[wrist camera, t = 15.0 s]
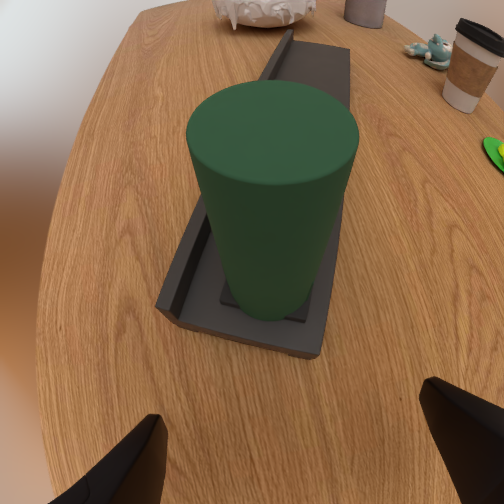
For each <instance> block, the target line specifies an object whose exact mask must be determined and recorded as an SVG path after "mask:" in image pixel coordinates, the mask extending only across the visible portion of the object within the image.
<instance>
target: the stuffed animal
mask: <svg viewBox="0 0 504 504" xmlns="http://www.w3.org/2000/svg"><path fill="white" fill-rule="evenodd" d="M452 48H453V46H452V45H451V44H449V43H448V42H447V41H446V40H442V39H441V37H440V36H439V35H437V34H434V37H433V38H432V39H430V40H429V42H428V45H426V44H422V43H412V44H411V45H410V46H409V45H405V46H404V50H405V52H408V54H409V55H411V56H414V55H418V56H420V57H425V58H426V59H425V60H424V63H425V64H427V65H429V66H430V67H432V68H434V69H437V70H444V69H446V68H448V67H449V63H450V58H451V53H452ZM430 59H432V60H433V61H429V60H430Z"/></svg>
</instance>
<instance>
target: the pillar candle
mask: <svg viewBox="0 0 504 504" xmlns="http://www.w3.org/2000/svg"><path fill="white" fill-rule="evenodd" d="M386 1H387V0H346V2H345V11H344V19H345V20H347V21H349V22H351V23H353V24H356V25H360V26H364V27H369V28H382V25H383V19H384V13H385V7H386Z"/></svg>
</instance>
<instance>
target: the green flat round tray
mask: <svg viewBox="0 0 504 504" xmlns="http://www.w3.org/2000/svg"><path fill="white" fill-rule="evenodd" d="M484 147H485V149H486V151H487V153H488V155H489V156H490V157H491V159H492V160H493V162H494V163H495V164H496V165H497V166H498V167H499V168H500V169H501V170H502V171H503V172H504V143H502V142H501V141H499V140H497V139H495V138H492V137H487V138H485V139H484Z"/></svg>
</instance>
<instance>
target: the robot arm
mask: <svg viewBox="0 0 504 504" xmlns="http://www.w3.org/2000/svg"><path fill="white" fill-rule="evenodd" d="M419 401H420V404H421V407H422V410H423V412H424V415H425V418H426V421H427V424H428V427H429V430H430V432H431V435H432V437H433V439H434V441H435V443H436V445H437V448H438V450H439V452H440V454H441V456H442V459H443V461H444V463H445V465H446V467H447V470H448V472H449V474H450V477H451V479H452V481H453V484H454V486H455V489H456V491H457V493H458V496H459V498H460V501H461V503H462V504H504V409H503V408H501V407H499V406H497V405H494V404H492V403H490V402H488V401H486V400H484V399H482V398H479V397H477V396H475V395H473V394H471V393H469V392H467V391H465V390H463V389H460V388H458V387H456V386H454V385H452V384H450V383H448V382H446V381H444V380H442V379H440V378H438V377H435V376H433V377H430V378H427V379H425V380H424V382H423V385H422V388H421V391H420V394H419ZM167 443H168V431H167V428H166V425H165V423H164V421H163V418H162V416H161V415H159V414H148V415H147V416H146V417H145V418H144V419H143V420H142V421H141V422H140V423H139V424H138V425H137V426H136V427H135V428H134V429H133V430H132V431H131V432H130V433H128V434H127V435H126V436H125V437H124V438H123V439H122V440H121V441H120V442H119V443H118V444H117V445H116V446H115V447H114V448H113V449H112V450H111V451H110V452H109V453H108V454H107V455H106V456H105V457H103V458H102V459H101V460H100V461H99V462H98V463H97V464H96V465H95V466H94V467H93V468H92V469H91V470H90V471H89V472H87V473H86V475H84V476H83V477H82V478H81V479H80V480H79V481H77V482H76V483H75V484H74V485H73V486H72V487H70V488H69V489H68V490H67V491H65V492H64V493H63V494H61V495H60V496H58V497H57V498H56V499H54V500H53V501H51V502H50V503H48V504H160V501H161V496H162V490H163V485H164V479H165V473H166V459H167Z"/></svg>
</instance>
